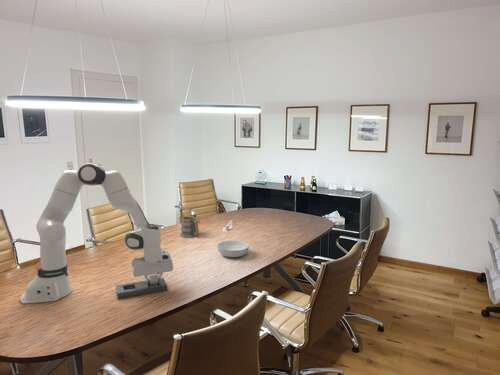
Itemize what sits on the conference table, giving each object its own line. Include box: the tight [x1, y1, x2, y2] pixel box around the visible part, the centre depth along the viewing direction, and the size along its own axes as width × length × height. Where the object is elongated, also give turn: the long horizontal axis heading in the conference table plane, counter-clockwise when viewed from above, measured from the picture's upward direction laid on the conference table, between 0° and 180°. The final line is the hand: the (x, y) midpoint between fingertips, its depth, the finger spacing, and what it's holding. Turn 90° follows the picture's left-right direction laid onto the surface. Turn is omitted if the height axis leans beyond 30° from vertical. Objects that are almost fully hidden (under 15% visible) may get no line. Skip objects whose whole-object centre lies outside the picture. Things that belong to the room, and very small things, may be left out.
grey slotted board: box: [115, 277, 168, 300], centre depth 189 cm, size 24×10×3 cm, turn 113°
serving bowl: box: [216, 239, 250, 258], centre depth 242 cm, size 21×21×7 cm
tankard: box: [179, 216, 201, 239], centre depth 282 cm, size 20×13×15 cm, turn 43°
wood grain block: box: [148, 273, 159, 286], centre depth 191 cm, size 4×4×5 cm
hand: (153, 281), depth 191 cm, fingers closed on wood grain block, 4 cm apart
